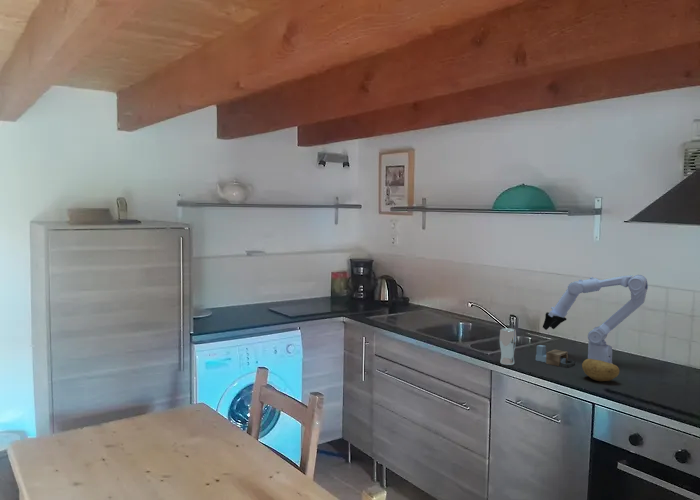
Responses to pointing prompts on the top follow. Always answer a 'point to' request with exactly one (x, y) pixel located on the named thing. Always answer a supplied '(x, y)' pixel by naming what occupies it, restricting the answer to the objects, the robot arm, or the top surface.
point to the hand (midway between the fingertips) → (548, 328)
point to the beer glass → (507, 345)
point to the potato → (600, 370)
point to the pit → (567, 364)
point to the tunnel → (555, 357)
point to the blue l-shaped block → (542, 354)
